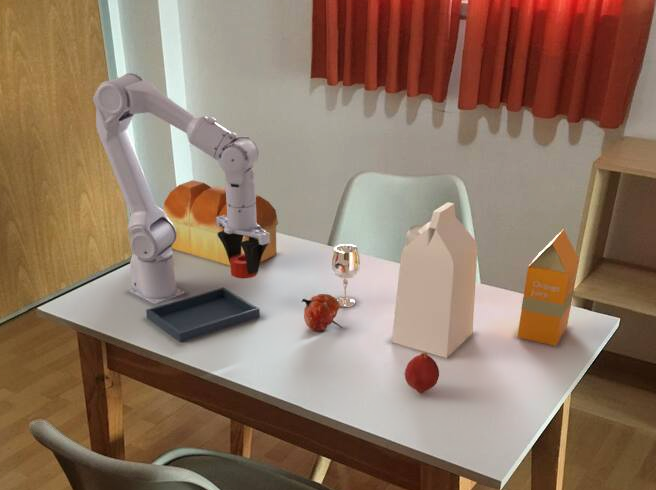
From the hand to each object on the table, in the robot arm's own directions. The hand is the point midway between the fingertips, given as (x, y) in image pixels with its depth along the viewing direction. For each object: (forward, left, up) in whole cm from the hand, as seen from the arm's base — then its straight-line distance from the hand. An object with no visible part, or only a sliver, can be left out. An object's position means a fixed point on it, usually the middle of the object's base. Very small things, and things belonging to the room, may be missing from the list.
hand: (244, 268), depth 167 cm
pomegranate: (+18, +4, -9) cm, 21 cm away
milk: (+36, +16, -9) cm, 41 cm away
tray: (-2, -10, -9) cm, 13 cm away
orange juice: (+50, +33, -9) cm, 61 cm away
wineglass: (+13, +16, -9) cm, 23 cm away
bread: (-28, +17, -9) cm, 34 cm away
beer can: (+22, +29, -9) cm, 38 cm away
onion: (+47, -2, -9) cm, 48 cm away
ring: (0, 0, -1) cm, 1 cm away
